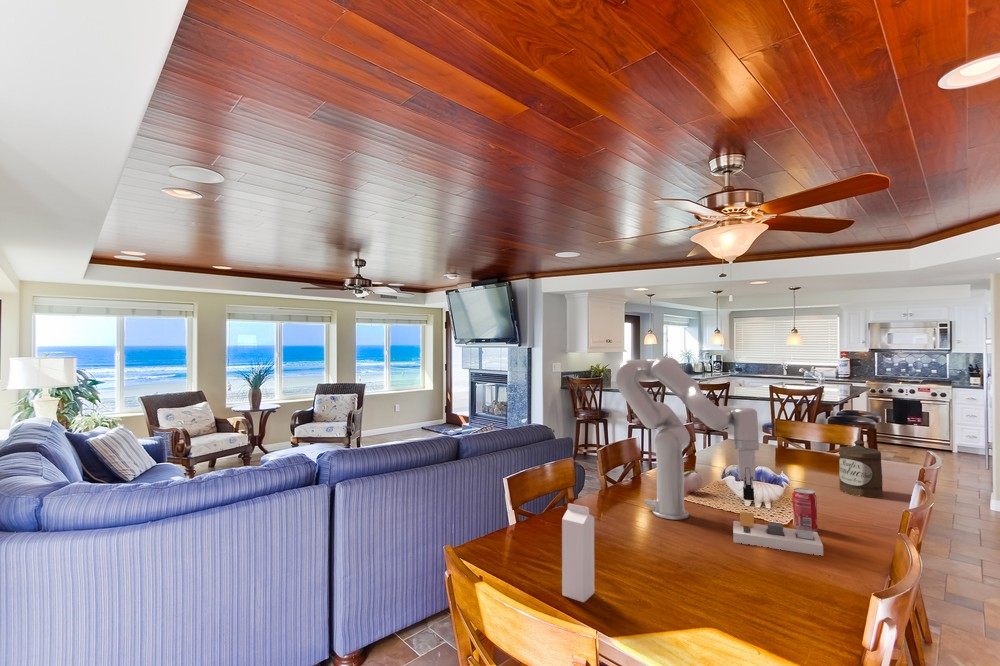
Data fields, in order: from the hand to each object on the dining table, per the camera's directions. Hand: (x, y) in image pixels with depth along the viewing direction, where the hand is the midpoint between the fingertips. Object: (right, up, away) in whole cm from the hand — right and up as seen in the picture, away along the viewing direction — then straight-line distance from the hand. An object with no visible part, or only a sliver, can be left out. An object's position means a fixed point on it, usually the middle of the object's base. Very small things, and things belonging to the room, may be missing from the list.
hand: (748, 499), depth 168 cm
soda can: (+19, -11, +1) cm, 22 cm away
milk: (-64, -9, -44) cm, 79 cm away
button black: (+3, -8, -10) cm, 13 cm away
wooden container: (+69, -12, +44) cm, 83 cm away
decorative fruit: (-3, -12, +42) cm, 44 cm away
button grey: (+10, -8, -14) cm, 19 cm away
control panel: (+3, -10, -10) cm, 15 cm away
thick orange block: (-3, -10, -5) cm, 12 cm away
